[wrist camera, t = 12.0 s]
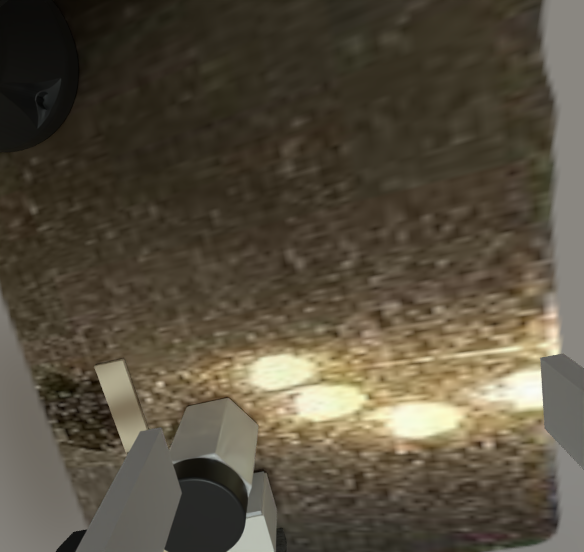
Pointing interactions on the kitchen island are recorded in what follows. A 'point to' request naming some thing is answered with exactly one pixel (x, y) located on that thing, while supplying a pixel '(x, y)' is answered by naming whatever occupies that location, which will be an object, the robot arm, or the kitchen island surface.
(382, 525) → the kitchen island surface
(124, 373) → the strip
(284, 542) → the two-tone gray brick
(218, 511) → the jar
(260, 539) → the carriage
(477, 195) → the kitchen island surface
